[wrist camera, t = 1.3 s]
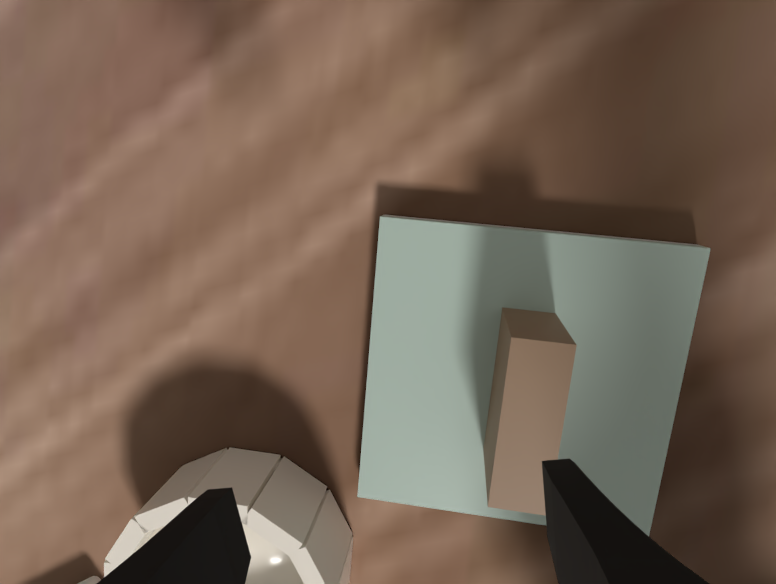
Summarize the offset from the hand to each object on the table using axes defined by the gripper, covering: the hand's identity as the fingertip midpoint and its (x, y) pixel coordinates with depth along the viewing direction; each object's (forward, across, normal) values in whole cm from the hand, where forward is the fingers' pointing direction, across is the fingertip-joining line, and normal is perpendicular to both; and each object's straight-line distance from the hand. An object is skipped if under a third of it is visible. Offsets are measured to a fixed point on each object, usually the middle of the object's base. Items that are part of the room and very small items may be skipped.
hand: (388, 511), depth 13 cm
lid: (+10, -4, +2) cm, 11 cm away
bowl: (+10, +9, +10) cm, 17 cm away
